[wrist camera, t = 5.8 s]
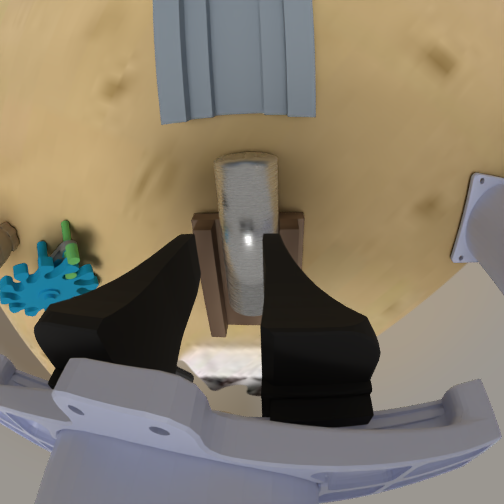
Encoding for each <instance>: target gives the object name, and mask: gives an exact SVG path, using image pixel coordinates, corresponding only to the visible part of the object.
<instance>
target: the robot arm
mask: <svg viewBox="0 0 504 504" xmlns="http://www.w3.org/2000/svg"><path fill="white" fill-rule="evenodd" d="M481 178H482V180H481V182H480V179H481ZM262 247H263V284H264V303H263V312H262V319H261V356H262V389H261V398H262V417H246V416H240V415H235V414H230V413H226V412H221V411H217V410H212V409H211V408H210V406H209V403H208V400H207V397H206V396H205V395H204V394H203V392H202V391H201V390H200V389H199V388H198V387H197V385H196V384H194V383H192V382H190V381H189V380H187V379H185V378H183V377H181V376H179V375H176V374H175V373H176V367H177V361H178V355H179V350H180V345H181V341H182V337H183V334H184V331H185V328H186V325H187V322H188V319H189V316H190V313H191V310H192V307H193V305H194V302H195V299H196V296H197V292H198V288H199V283H200V277H201V270H200V264H199V258H198V252H197V246H196V240H195V234H181V235H179V236H178V237H176V238H175V239H173V240H172V241H171V242H169V243H168V244H167V245H165V246H164V247H163V248H161V249H160V250H159V251H158V252H156V253H155V254H154V255H152V256H151V257H150V258H148V259H147V260H145V261H144V262H142V263H141V264H140V265H138V266H137V267H135V268H134V269H132V270H131V271H129V272H128V273H126V274H124V275H122V276H121V277H119V278H117V279H115V280H113V281H111V282H109V283H107V284H105V285H103V286H101V287H99V288H97V289H95V290H92V291H90V292H87V293H85V294H82V295H79V296H76V297H73V298H70V299H67V300H63V301H60V302H56V303H52V304H50V305H49V306H48V308H47V309H46V310H45V312H44V313H43V315H42V316H41V318H40V319H39V321H38V322H37V324H36V325H35V327H34V334H35V337H36V340H37V342H38V344H39V346H40V347H41V349H42V350H43V352H44V353H45V354H46V356H47V357H48V359H49V360H50V361H51V363H52V364H53V365H54V367H55V370H54V372H53V374H52V376H51V378H50V380H49V381H47V380H44V379H41V378H39V377H36V376H33V375H30V374H27V373H25V372H22V371H20V370H17V369H16V368H15V366H14V365H13V363H12V362H11V361H10V360H9V359H8V358H7V357H6V356H4V355H2V354H0V423H1V424H3V425H4V426H6V427H7V428H9V429H11V430H12V431H14V432H16V433H17V434H19V435H21V436H22V437H24V438H26V439H28V440H29V441H31V442H33V443H35V444H36V445H38V446H40V447H42V448H43V449H46V450H47V451H49V452H51V455H50V458H49V461H48V463H47V466H46V469H45V472H44V475H43V478H42V481H41V484H40V487H39V490H38V494H37V498H36V500H35V504H319V503H327V502H334V501H341V500H346V499H352V498H358V497H362V496H367V495H372V494H376V493H380V492H385V491H389V490H393V489H396V488H400V487H403V486H407V485H410V484H413V483H417V482H420V481H423V480H426V479H429V478H432V477H435V476H438V475H441V474H444V473H447V472H449V471H452V470H455V469H458V468H460V467H463V466H464V465H466V464H467V463H469V462H470V461H472V460H473V459H475V458H476V457H478V456H479V455H480V454H482V453H483V452H484V451H486V450H487V449H489V448H490V447H491V446H492V445H494V444H495V443H496V442H498V441H499V440H500V439H501V437H502V436H501V432H500V429H499V426H498V423H497V420H496V417H495V414H494V412H493V409H492V406H491V403H490V401H489V398H488V396H487V393H486V390H485V388H484V386H483V383H482V381H481V379H476V380H472V381H468V382H464V383H461V384H457V385H455V386H453V387H451V388H450V389H449V390H448V391H447V392H446V393H445V394H444V396H443V398H442V399H441V400H437V401H432V402H427V403H423V404H417V405H412V406H407V407H400V408H395V409H388V410H381V411H373V408H372V402H371V398H370V394H371V392H372V385H371V381H370V379H371V377H372V374H373V372H374V370H375V368H376V366H377V363H378V361H379V357H380V348H379V343H378V340H377V337H376V335H375V332H374V330H373V328H372V326H371V324H370V322H369V320H368V318H367V317H366V316H364V315H362V314H360V313H358V312H356V311H354V310H352V309H350V308H348V307H346V306H344V305H343V304H341V303H340V302H338V301H336V300H335V299H333V298H332V297H330V296H329V295H328V294H326V293H325V292H324V291H323V290H321V289H320V288H319V287H318V286H316V285H315V284H314V283H313V282H312V281H311V280H310V279H309V278H308V277H307V276H306V274H305V273H304V272H303V271H302V270H301V268H300V267H299V266H298V265H297V263H296V262H295V261H294V259H293V258H292V256H291V255H290V253H289V252H288V250H287V248H286V246H285V244H284V242H283V240H282V238H281V235H280V234H279V233H263V239H262ZM460 256H461V257H460ZM459 257H460V258H459ZM451 260H452V261H453V262H454V263H465V262H479V263H480V264H481V266H482V267H483V268H484V270H485V271H486V272H487V273H488V275H489V276H490V277H491V279H492V280H493V281H494V283H495V284H496V285H497V287H498V288H499V289H500V291H501V292H502V293H503V295H504V178H502V177H497V176H492V175H487V174H481V173H474V174H473V175H472V177H471V181H470V186H469V191H468V195H467V200H466V204H465V208H464V212H463V216H462V220H461V224H460V227H459V231H458V234H457V238H456V241H455V244H454V248H453V251H452V254H451Z"/></svg>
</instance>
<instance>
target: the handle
mask: <svg viewBox="0 0 504 504" xmlns="http://www.w3.org/2000/svg"><path fill="white" fill-rule="evenodd" d="M18 244H19V240H18V238H17V235H16V230H15V228H13V227H11V226H10V225H9V223H7V222H4V223H2V224H1V225H0V268H1V267H2V265H3V264H4V263H5V262H6V260H7V259H8V257H9V256H10V253H11V251H14V250H15V249H16V248H17V246H18Z"/></svg>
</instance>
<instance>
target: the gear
mask: <svg viewBox="0 0 504 504" xmlns="http://www.w3.org/2000/svg"><path fill="white" fill-rule="evenodd" d="M61 227H62V235H63V242H62V243H61V244H60V245H59V246H58V248H57V249H56V250H55V251H54V252H53V253H52V255H51V256H50V257H48V254H47V245H46V242H44V241H40V242H38V243H37V250H38V267H39V268H38V270H37V271H36V272H35V273H34V274H31V275H29V274H28V265H27V264H26V263H22V264H18V265H15V266H13V271H14V278H15V279H16V280H19V281H21V282H20V283H15V282H13V279H12V277H10V276H4V277H3V278H2V279H1V280H0V301H1V304H8V303H9V309H10V311H11V312H13V313H16V312H19V311H20V310H22V309H25V315H28V316H35V315H36V314H37V312H38V311H40V310H41V309H43V308H44V309H45V310H46V309H47V308H48V306H49V305H50V304H52V303H56V302H60V301H63V300H67V299H70V298H73V297H74V296H79V295H82V294H85V293H87V292H90V290H95V289H96V288H97V287H98V285H99V283H98V279H97V276H94V273H93V269H92V266H91V264H86V265H83V266H82V267H80V268H79V265H78V263H79V262H80V257H79V252H78V246H77V243H76V242H75V241H73V240H71V234H70V228H69V222H68V221H63V222H62V223H61Z"/></svg>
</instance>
